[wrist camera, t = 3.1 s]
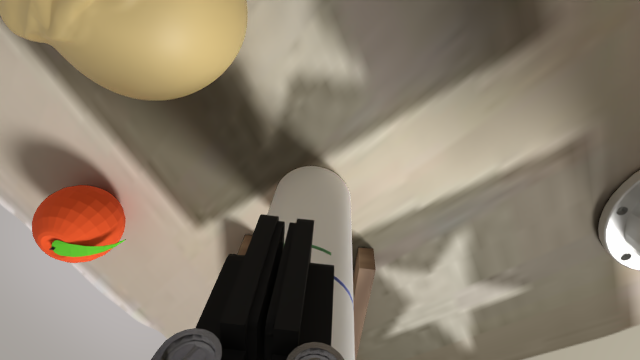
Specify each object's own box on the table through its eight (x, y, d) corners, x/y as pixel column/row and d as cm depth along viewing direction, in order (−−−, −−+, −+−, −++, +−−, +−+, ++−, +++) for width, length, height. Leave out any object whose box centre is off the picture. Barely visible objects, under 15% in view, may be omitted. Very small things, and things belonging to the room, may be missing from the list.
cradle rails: (373, 248, 35) (375, 269, 32) (346, 378, 45) (346, 402, 43) (245, 234, 35) (237, 254, 32) (248, 367, 46) (242, 390, 43)
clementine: (148, 181, 33) (101, 226, 27) (152, 238, 36) (112, 289, 30) (63, 165, 33) (-4, 207, 26) (75, 224, 36) (19, 273, 30)
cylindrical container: (313, 242, 35) (260, 664, 13) (259, 198, 33) (88, 613, 11) (366, 201, 32) (411, 647, 10) (311, 150, 30) (220, 576, 8)
